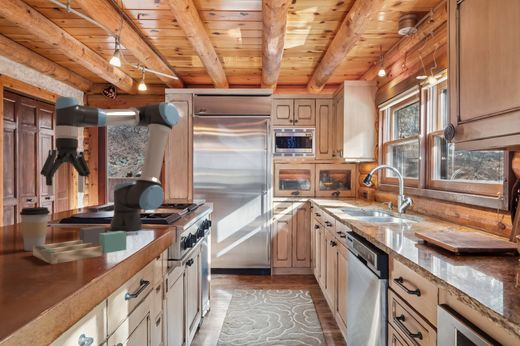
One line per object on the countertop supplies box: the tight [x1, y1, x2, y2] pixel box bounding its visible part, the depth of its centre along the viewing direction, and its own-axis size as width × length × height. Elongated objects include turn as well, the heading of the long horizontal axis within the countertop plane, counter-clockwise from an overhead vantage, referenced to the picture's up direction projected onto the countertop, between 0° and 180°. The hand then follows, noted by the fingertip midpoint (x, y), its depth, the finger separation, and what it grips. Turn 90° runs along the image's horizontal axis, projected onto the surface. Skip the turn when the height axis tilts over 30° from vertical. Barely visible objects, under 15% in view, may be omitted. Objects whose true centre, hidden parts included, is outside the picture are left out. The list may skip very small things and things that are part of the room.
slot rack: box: [32, 239, 104, 265], centre depth 117 cm, size 16×18×3 cm
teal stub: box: [98, 231, 127, 254], centre depth 125 cm, size 8×4×6 cm, turn 139°
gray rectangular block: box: [79, 225, 106, 246], centre depth 136 cm, size 8×4×6 cm, turn 139°
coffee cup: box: [18, 206, 51, 252], centre depth 126 cm, size 9×9×15 cm
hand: (67, 193), depth 133 cm, fingers open, 13 cm apart
